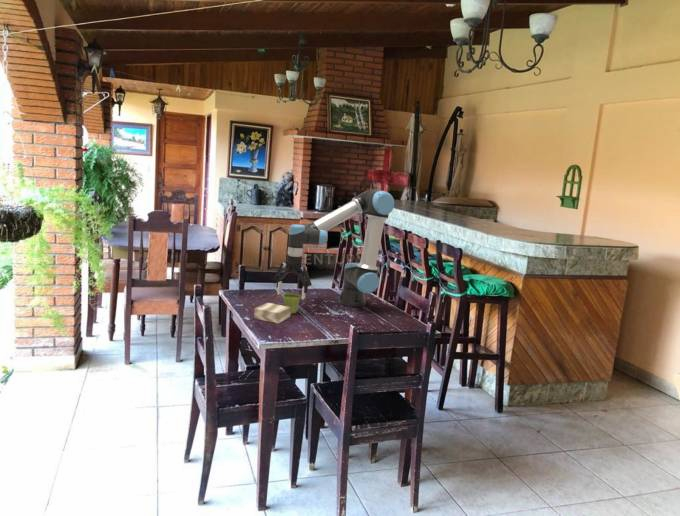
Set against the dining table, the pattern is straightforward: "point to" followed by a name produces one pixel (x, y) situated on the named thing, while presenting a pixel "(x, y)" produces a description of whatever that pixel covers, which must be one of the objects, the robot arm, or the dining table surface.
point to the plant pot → (291, 301)
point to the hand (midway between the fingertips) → (291, 296)
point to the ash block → (272, 312)
